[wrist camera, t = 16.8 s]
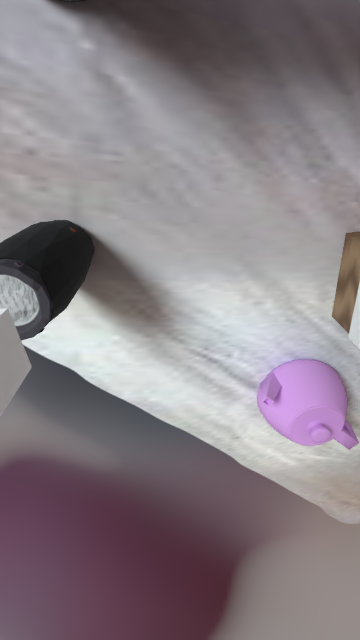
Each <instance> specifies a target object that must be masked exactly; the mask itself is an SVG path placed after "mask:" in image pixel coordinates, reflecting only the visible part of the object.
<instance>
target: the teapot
mask: <svg viewBox="0 0 360 640" xmlns="http://www.w3.org/2000/svg"><path fill="white" fill-rule="evenodd" d="M257 403H258V407H259V409H260V411H261V413H262V415H263V417H264V418H265V420H266V421H267V422H268V423H269V424H270V425H271V426H272V427H273V428H274V429H275V430H276V431H277V432H279V433H280V434H281V435H283V436H285V437H286V438H288V439H290V440H291V441H293V442H296V443H298V444H301V445H307V446H313V445H319V444H323V443H325V442H328V441H330V440H331V439H333V438H334V439H335V440H337V441H338V442H339V443H341V444H342V445H344V446H345V447H346V448H348V449H351V448H352V447H354V446H355V445H356V444H358V443H359V442H358V440H357V437H356V435H355V433H354V431H353V429H352V427H351V425H350V424H349V423H348V422H347V421H346V412H347V395H346V391H345V387H344V385H343V382H342V380H341V378H340V377H339V375H338V374H337V372H336V371H335V370H334V369H333V368H332V367H330V366H329V365H327V364H325V363H323V362H320V361H316V360H308V359H302V360H294V361H290V362H287V363H284V364H282V365H280V366H278V367H277V368H275V369H274V370H272V371H271V372H270V373H269V374H268V375H267V376H266V378H265V379H264V380H263V381H262V382H261V383H260V387H259V390H258V395H257Z"/></svg>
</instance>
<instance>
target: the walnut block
mask: <svg viewBox="0 0 360 640" xmlns="http://www.w3.org/2000/svg"><path fill="white" fill-rule="evenodd" d="M359 283H360V232H352V233H346V237H345V243H344V248H343V254H342V260H341V266H340V272H339V278H338V284H337V289H336V295H335V301H334V307H333V313H332V317H333V318H334V319H335V320H336V321H337V322H338V323H339V324H340V325H341V326H342V327H343V328H344V329H345V330H346V331H347V332H348V333H349V331H350V326H351V321H352V316H353V312H354V307H355V302H356V297H357V292H358V288H359Z"/></svg>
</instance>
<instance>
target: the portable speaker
mask: <svg viewBox="0 0 360 640" xmlns="http://www.w3.org/2000/svg"><path fill="white" fill-rule="evenodd" d="M93 253H94V247H93V244H92V240H91V238H90V237H89V236H88V235H87V234H86V233H85V232H84V231H83V230H82V229H81V228H80V227H79V226H77V225H75V224H74V223H72V222H69V221H68V220H54V221H49V222H40V223H37V224H34V225H31V226H29V227H28V228H26V229H24V230H22V231H20V232H19V233H17V234H15V235H13V236H11V237H10V238H8V239H6V240H4V241H3V242H1V243H0V309H3V308H8V310H9V312H10V315H11V317H12V319H13V322H14V324H15V327H16V329H17V332H18V334H19V337H20V339H21V340H24V339H28V338H32V337H34V336H35V335H36V334H38V333H40V332H42V331H43V330H44V327H45V326H46V325H47V324H48V323H49V322H50V321H51V320H53V319H54V318H55V317H56V316H58V315H59V314H60V313H61V312H62V311H64V310H65V309H66V308H67V306H68V305H69V303H70V302H71V300H72V299H73V297H74V295H75V294H76V292H77V291H78V289H79V288H80V286H81V285H82V283H83V282H84V280H85V277H86V275H87V272H88V269H89V266H90V263H91V259H92V256H93Z"/></svg>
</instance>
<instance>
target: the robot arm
mask: <svg viewBox="0 0 360 640" xmlns="http://www.w3.org/2000/svg"><path fill="white" fill-rule="evenodd" d="M61 1H70V2H75V1H83V0H61ZM348 338H349V339H350V340H351V341H352V342H353V343H354V344H355V345H356V346H357V347H358V348H359V349H360V283H359V288H358V292H357V297H356V302H355V307H354V312H353V316H352V321H351V326H350V331H349V336H348ZM30 369H31V364H30V362H29V359H28V357H27V354H26V352H25V349H24V347H23V344H22V342H21V339H20V337H19V334H18V332H17V329H16V327H15V324H14V322H13V319H12V317H11V315H10V312H9V310H8V308H3V309H0V417H1V415H2V413H3V412H4V410H5V408H6V407H7V405H8V404H9V402H10V401H11V399H12V398H13V396H14V394H15V393H16V391H17V390H18V388H19V386H20V385H21V383H22V382H23V380H24V379H25V377H26V375H27V374H28V372H29V371H30Z"/></svg>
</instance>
